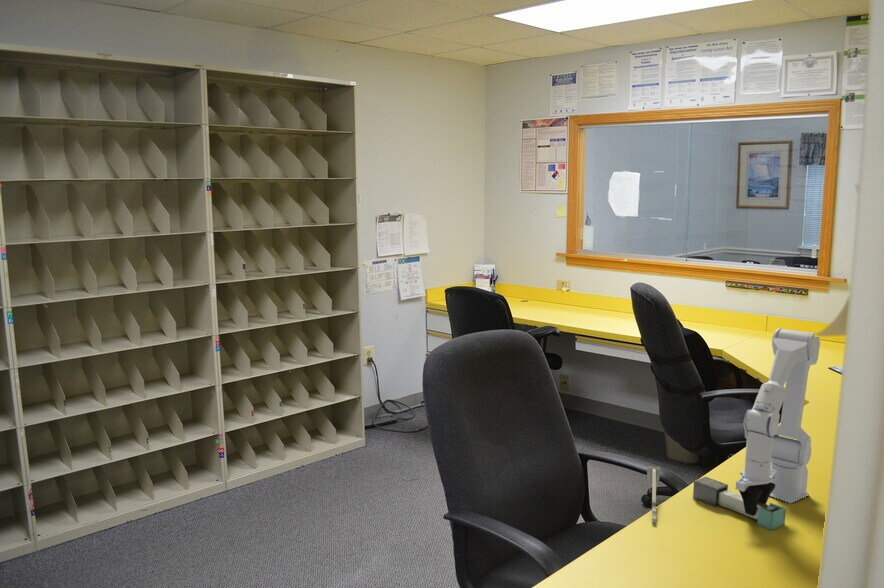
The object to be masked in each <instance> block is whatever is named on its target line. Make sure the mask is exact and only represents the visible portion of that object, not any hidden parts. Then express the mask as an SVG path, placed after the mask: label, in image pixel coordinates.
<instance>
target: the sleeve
mask: <svg viewBox="0 0 884 588" xmlns="http://www.w3.org/2000/svg"><path fill="white" fill-rule="evenodd" d="M723 489H727V490H729V484H727V483H723V482H721V481H718V480H716V479H713V478H710V477H707V476H704V477H701V478H698V479H695V480H693V491H692V499H694V498H695V499H694V500H696V499H697V501H699V500H700V502H701V501H702V503H704V504H706V505H709V506H711V505H712V507H713V508H716V506H717V507H719V506H720V505H719V504H717V494H718V491H721V490H723ZM718 505H719V506H718Z"/></svg>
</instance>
